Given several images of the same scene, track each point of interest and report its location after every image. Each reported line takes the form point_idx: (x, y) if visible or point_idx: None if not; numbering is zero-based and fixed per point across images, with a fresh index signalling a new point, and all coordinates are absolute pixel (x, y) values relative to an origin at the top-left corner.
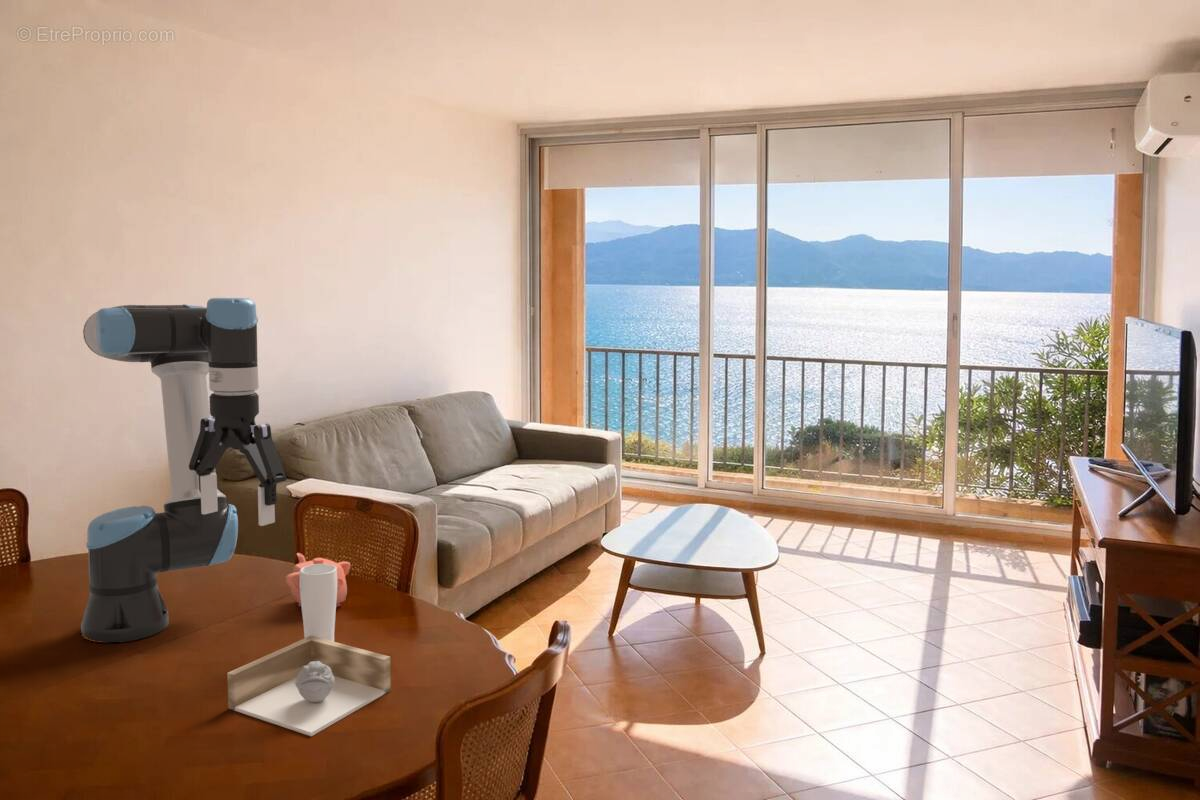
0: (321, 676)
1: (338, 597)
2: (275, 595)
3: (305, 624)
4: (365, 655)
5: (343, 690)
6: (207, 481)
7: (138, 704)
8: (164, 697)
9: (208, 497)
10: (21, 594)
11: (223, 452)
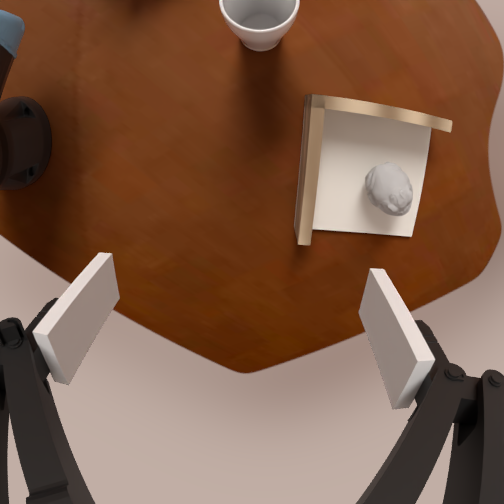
0: (410, 203)
1: None
2: None
3: (252, 46)
4: (423, 125)
5: (391, 143)
6: (71, 355)
7: (197, 259)
8: (206, 237)
9: (96, 315)
10: None
11: (58, 452)
